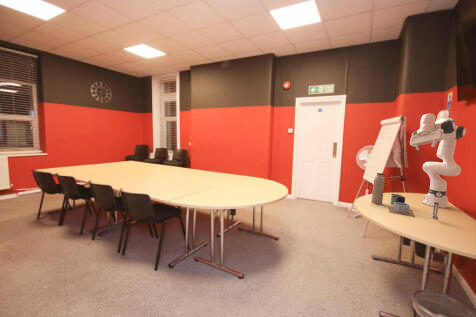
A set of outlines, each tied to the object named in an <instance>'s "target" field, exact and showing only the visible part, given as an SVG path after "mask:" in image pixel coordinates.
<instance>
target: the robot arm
mask: <svg viewBox="0 0 476 317" xmlns="http://www.w3.org/2000/svg"><path fill="white" fill-rule="evenodd" d="M466 133H467V129H466V127H465V126H463V125H457V122H456V121H455V120H454V119H453V118H451V117H442V118H438V119H437V120H436V115H435V114H434V113H426V114H423V115H422V116H421V118H420V122H419V129H417V130H415V131H414V132H412V133H411V137H410V140H409V145H410V146H411V147H415V149H416V151H419V150H420V147H419V146H423V145H427V144H430V147H431V148H435V147H436V144H438V142H439V144H438V148H437V151H436V157H437V158H439V159H440V160H442V162H440V161H426V162H424V163H422V171H423V172H424V173H425V174H427V176H428V178H429V182H430V183H429V184H430V185H429V189H428V192H427V194H426V195H424V196H423V199H422V202H421V204H424V205H427V206H431V207H434V202H437V203H439V206H438V208H442V209H444V208H445V209H446V208H450V205H448V203H449V202H448V201H449V197H447V186H448V183H447V181H446V180H445V179H444V178H442V177H441V176H445V177H446V176H447V177H457V176H459V175H460V174H461V172H462V167H461V166H460V165H459V164H457V163H456V161H455V159H454V157H455V156H454V155H455V150H456V146H457V145H456V144H457V141H458V140H460V139H462V138H464V137H465V135H466ZM436 206H437V204H436Z"/></svg>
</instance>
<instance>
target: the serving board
mask: <svg viewBox="0 0 476 317" xmlns="http://www.w3.org/2000/svg"><path fill="white" fill-rule="evenodd" d="M393 207H394V206H389V205H387V209H388V212H389V214H395V215H398V216H399V215H400V216H404V217H410V218H416V216H415V214H414V212H413V210H412V209H409V213H407V214H404V213H398V212H396V211H394V210H393Z"/></svg>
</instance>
